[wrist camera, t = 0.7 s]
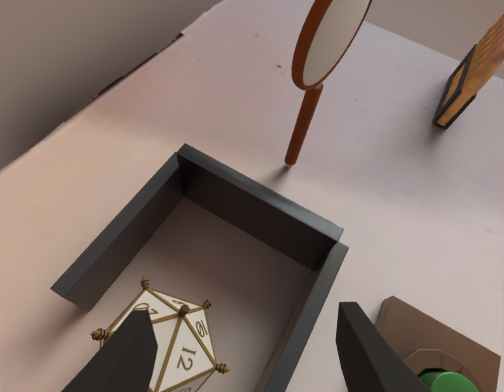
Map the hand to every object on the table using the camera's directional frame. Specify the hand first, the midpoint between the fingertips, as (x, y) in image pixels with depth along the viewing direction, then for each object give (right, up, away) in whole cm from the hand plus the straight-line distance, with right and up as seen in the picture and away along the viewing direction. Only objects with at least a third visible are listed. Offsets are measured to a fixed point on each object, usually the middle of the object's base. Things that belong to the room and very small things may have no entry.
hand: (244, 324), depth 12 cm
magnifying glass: (+4, +8, +22) cm, 24 cm away
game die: (-6, -7, +12) cm, 16 cm away
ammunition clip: (+26, +17, +30) cm, 43 cm away
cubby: (-3, -3, +15) cm, 16 cm away
